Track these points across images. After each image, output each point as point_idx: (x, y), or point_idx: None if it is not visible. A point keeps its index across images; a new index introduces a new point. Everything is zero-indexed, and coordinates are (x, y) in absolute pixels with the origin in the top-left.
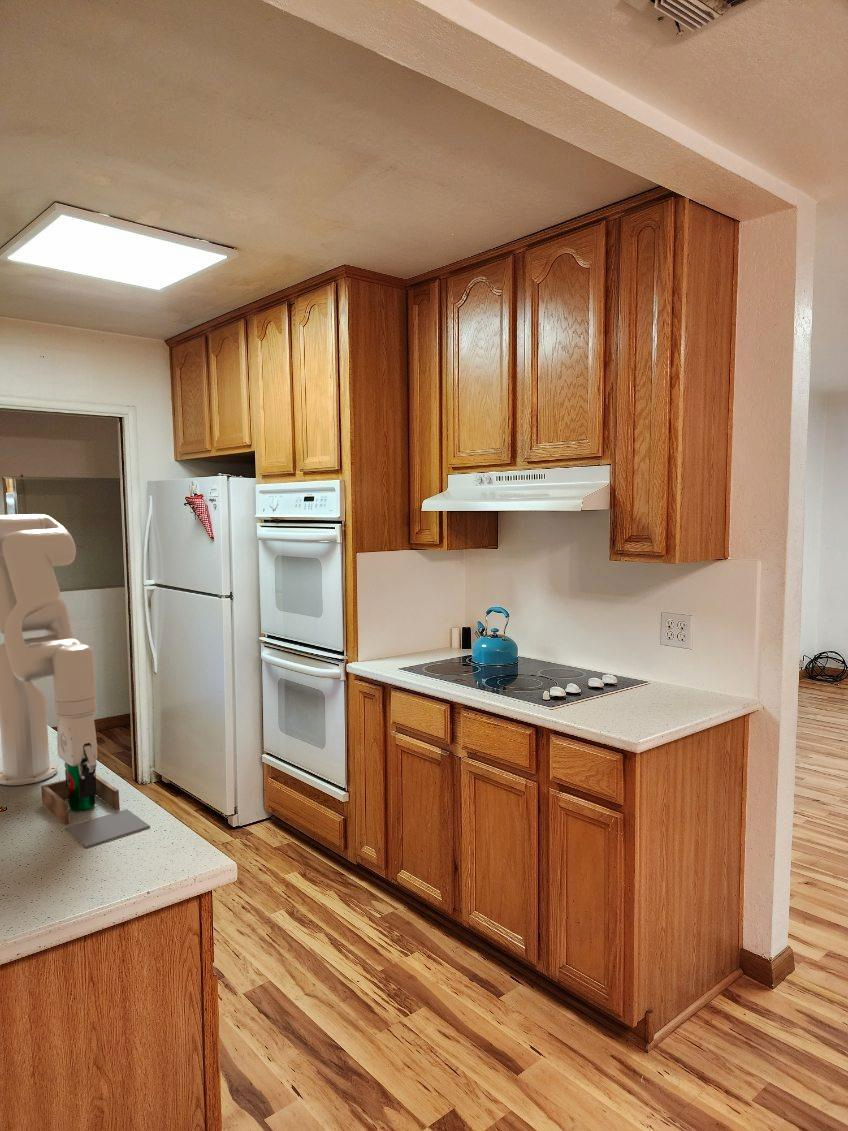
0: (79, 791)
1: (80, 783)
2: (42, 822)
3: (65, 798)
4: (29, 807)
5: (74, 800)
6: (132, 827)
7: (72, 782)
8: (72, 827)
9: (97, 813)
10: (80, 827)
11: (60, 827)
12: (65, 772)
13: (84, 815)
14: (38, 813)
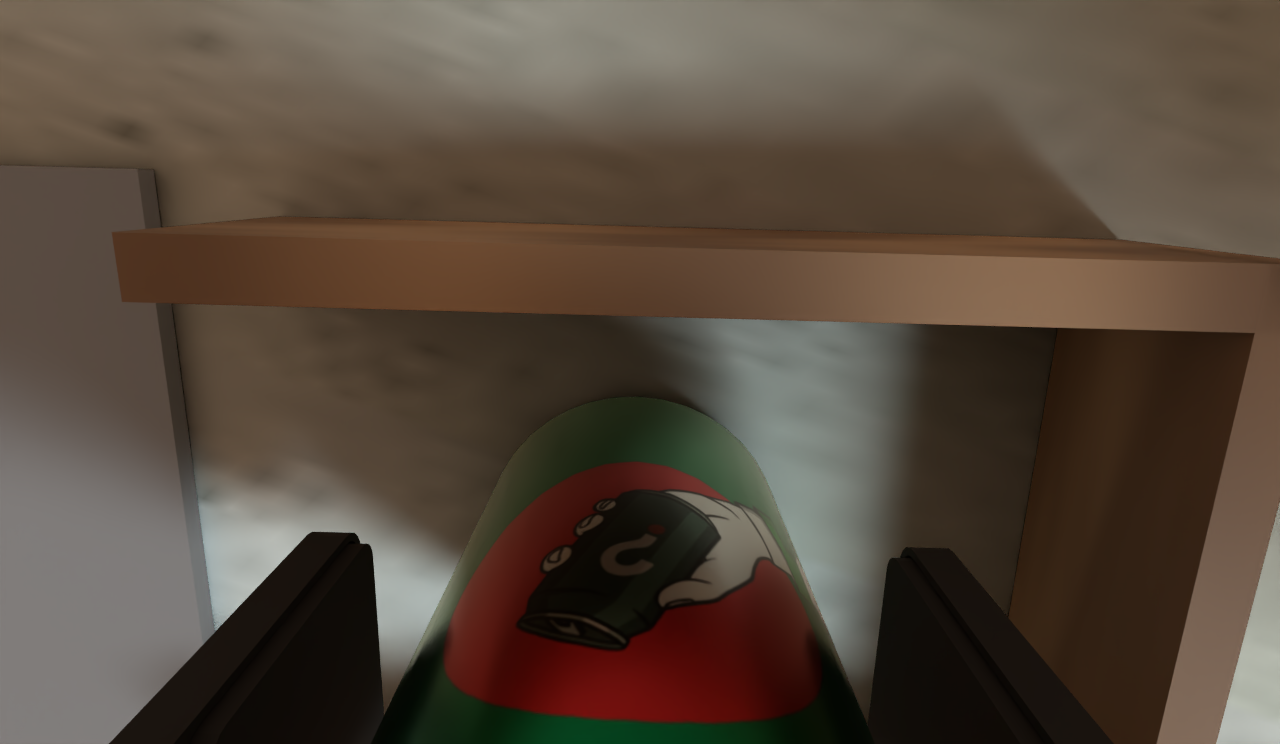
0: (289, 580)
1: (179, 696)
2: (558, 45)
3: (1037, 487)
4: (1171, 90)
5: (521, 474)
6: None
7: (476, 617)
8: (76, 233)
9: (375, 573)
10: (25, 299)
11: (254, 153)
12: (1081, 713)
13: (417, 463)
14: (881, 107)
